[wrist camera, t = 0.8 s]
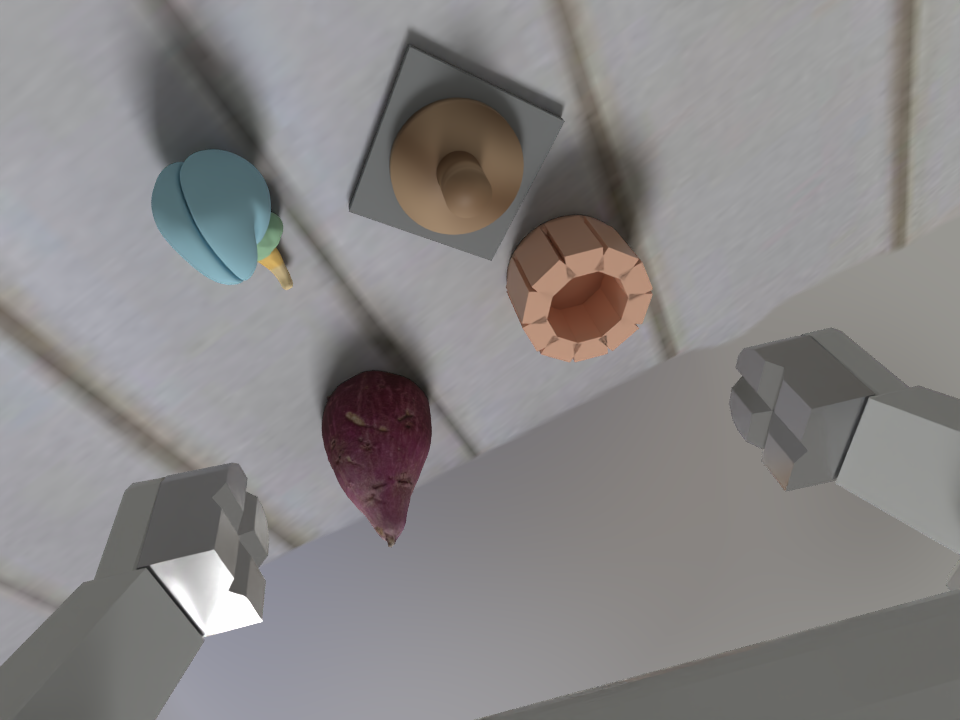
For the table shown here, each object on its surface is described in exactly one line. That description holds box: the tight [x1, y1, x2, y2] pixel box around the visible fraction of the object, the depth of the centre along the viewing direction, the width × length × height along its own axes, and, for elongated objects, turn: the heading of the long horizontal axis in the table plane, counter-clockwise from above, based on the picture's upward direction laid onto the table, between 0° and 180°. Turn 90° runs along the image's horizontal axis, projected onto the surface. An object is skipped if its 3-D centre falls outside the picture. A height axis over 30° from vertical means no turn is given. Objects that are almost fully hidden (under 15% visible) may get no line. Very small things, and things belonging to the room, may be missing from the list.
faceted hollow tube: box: [506, 215, 653, 362], centre depth 50 cm, size 10×11×6 cm
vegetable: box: [322, 371, 432, 547], centre depth 54 cm, size 10×10×15 cm
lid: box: [389, 98, 524, 235], centre depth 42 cm, size 10×10×5 cm
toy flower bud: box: [151, 149, 293, 290], centre depth 41 cm, size 7×9×12 cm
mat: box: [349, 45, 565, 261], centre depth 44 cm, size 12×12×1 cm
